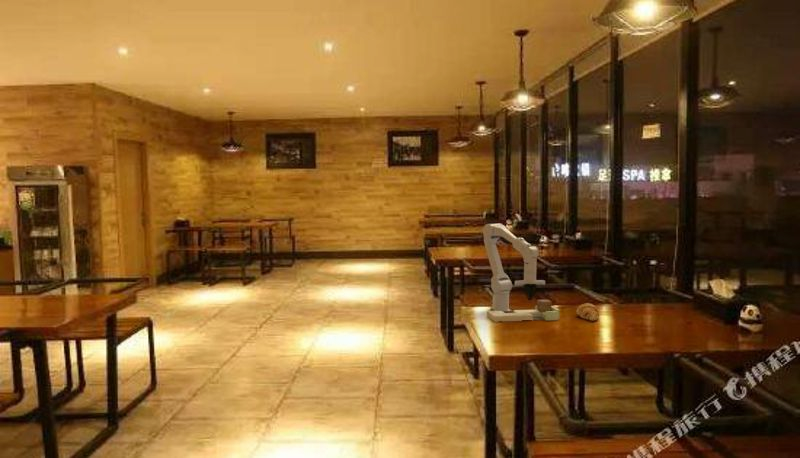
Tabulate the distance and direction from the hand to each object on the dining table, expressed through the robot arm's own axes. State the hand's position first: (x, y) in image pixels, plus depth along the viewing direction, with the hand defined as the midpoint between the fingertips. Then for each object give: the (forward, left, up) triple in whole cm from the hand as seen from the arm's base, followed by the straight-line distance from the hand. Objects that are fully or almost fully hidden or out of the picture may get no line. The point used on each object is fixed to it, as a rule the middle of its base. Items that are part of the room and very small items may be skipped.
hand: (529, 299), depth 282 cm
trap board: (+3, -5, -8) cm, 10 cm away
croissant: (+6, +27, -8) cm, 28 cm away
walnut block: (+1, +7, -5) cm, 9 cm away
